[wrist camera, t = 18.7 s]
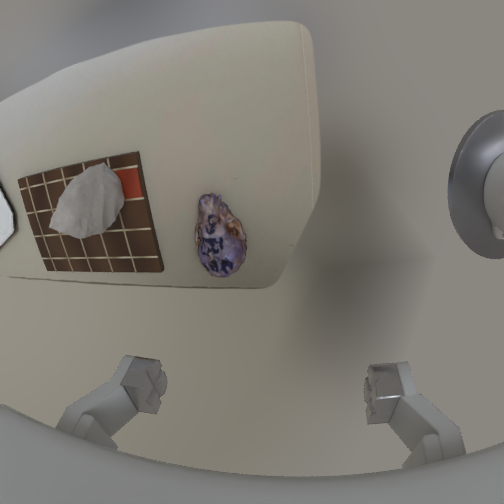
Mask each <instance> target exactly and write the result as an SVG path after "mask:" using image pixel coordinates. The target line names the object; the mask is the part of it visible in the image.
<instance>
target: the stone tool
mask: <svg viewBox="0 0 504 504" xmlns="http://www.w3.org/2000/svg"><path fill="white" fill-rule="evenodd" d="M124 200H125V197H124V194H123V190H122V184H121V180H120V178H119V177H118V176H117V175H116V174H115V172H114V171H113V170H112V169H110V168H109V167H108V166H107V165H106V164H105V163H104V162H103V163H101V164H99V165H95V166H91V167H89V168H87V169H86V170H85V171H84V172H82V173H81V174H79V175H77V176H76V177H75V178H74V179H72V180H71V181H70V183H69V185H68V186H67V187H66V189H65V190H64V192H63V194H62V195H61V197H59V201H58V204H57V209H56V211H55V212H54V214H53V216H52V217H51V223H50V225H49V228H52V229H54V230H56V231H58V232H59V233H64V234H68V235H71V236H73V237H75V238H80V239H81V238H86V237H90V236H91V235H96V234H102V233H104V232H105V230H106V229H107V228H108V227H110V226H111V225H112V223H113V222H114V221H115V220H116V216H117V215H118V213H119V211H120V209H121V208H122V207H123V205H124Z"/></svg>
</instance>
